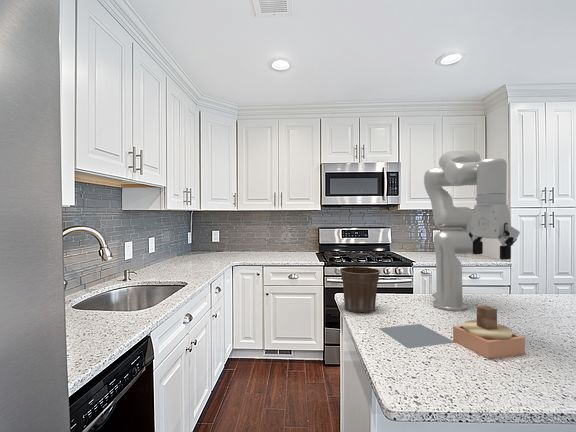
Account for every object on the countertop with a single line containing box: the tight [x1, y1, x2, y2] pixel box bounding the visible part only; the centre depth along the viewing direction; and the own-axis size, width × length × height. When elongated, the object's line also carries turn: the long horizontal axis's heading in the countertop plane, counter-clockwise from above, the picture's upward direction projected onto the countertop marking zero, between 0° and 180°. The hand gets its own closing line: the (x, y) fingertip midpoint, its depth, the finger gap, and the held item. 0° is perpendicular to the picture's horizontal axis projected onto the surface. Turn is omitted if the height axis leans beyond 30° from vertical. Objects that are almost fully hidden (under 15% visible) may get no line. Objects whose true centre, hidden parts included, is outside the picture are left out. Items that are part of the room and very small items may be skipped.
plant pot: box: [339, 266, 381, 314], centre depth 125 cm, size 16×16×16 cm
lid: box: [462, 305, 513, 340], centre depth 86 cm, size 12×12×7 cm
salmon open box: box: [452, 324, 526, 360], centre depth 86 cm, size 12×12×5 cm
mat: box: [378, 323, 457, 349], centre depth 95 cm, size 16×16×1 cm
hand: (490, 256), depth 92 cm, fingers open, 9 cm apart
